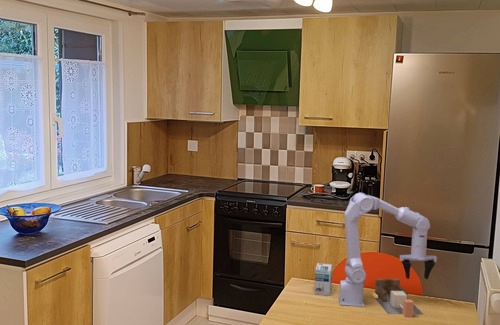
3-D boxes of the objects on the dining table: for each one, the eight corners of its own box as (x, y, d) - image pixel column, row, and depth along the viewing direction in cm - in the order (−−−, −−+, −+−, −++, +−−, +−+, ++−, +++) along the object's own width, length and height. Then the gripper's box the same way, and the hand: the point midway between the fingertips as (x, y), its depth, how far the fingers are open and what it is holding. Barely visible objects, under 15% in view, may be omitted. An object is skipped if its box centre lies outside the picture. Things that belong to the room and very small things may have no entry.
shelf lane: (387, 314, 205) (388, 298, 204) (369, 292, 230) (370, 278, 229) (423, 314, 206) (424, 299, 205) (402, 293, 231) (402, 278, 230)
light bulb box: (330, 296, 224) (331, 270, 223) (313, 294, 225) (315, 269, 224) (331, 288, 234) (332, 263, 233) (316, 286, 235) (317, 262, 234)
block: (402, 317, 202) (403, 302, 201) (389, 302, 217) (390, 288, 216) (415, 317, 202) (416, 302, 202) (402, 302, 217) (403, 288, 217)
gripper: (404, 247, 212) (402, 281, 213) (440, 248, 212) (438, 281, 214) (398, 243, 219) (396, 275, 220) (433, 243, 219) (431, 276, 221)
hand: (416, 278), depth 217 cm, fingers open, 7 cm apart
